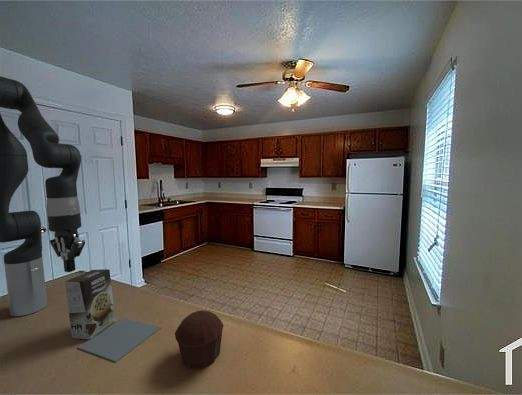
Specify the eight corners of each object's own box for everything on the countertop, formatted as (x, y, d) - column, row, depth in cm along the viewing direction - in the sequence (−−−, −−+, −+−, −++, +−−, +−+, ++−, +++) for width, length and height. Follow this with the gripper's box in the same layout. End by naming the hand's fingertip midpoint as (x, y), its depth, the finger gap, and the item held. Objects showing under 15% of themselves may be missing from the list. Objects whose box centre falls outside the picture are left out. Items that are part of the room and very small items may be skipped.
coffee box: (90, 340, 67) (83, 281, 66) (71, 338, 68) (63, 281, 67) (117, 320, 76) (110, 268, 74) (99, 319, 77) (92, 268, 76)
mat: (77, 348, 64) (77, 347, 64) (125, 318, 77) (125, 317, 77) (116, 362, 59) (115, 361, 59) (160, 328, 72) (160, 327, 72)
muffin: (185, 339, 66) (183, 303, 65) (227, 338, 66) (225, 302, 66) (169, 375, 55) (166, 331, 54) (220, 373, 55) (218, 330, 54)
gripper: (35, 214, 72) (41, 273, 73) (64, 215, 67) (70, 278, 68) (64, 210, 78) (69, 264, 80) (92, 211, 73) (97, 269, 75)
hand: (70, 271), depth 74 cm, fingers closed
